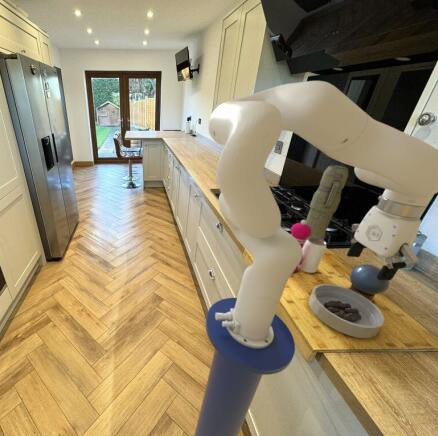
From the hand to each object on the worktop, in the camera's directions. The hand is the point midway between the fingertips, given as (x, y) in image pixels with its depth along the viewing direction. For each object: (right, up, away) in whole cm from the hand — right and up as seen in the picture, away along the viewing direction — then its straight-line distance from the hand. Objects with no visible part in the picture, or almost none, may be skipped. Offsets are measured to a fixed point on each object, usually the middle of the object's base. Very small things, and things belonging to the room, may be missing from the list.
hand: (366, 267), depth 62 cm
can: (+2, -6, +27) cm, 27 cm away
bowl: (-1, -15, +7) cm, 17 cm away
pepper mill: (-5, -6, +27) cm, 28 cm away
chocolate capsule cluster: (-1, -15, +7) cm, 16 cm away
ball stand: (+11, -12, +14) cm, 22 cm away
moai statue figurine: (+13, +1, +42) cm, 44 cm away
